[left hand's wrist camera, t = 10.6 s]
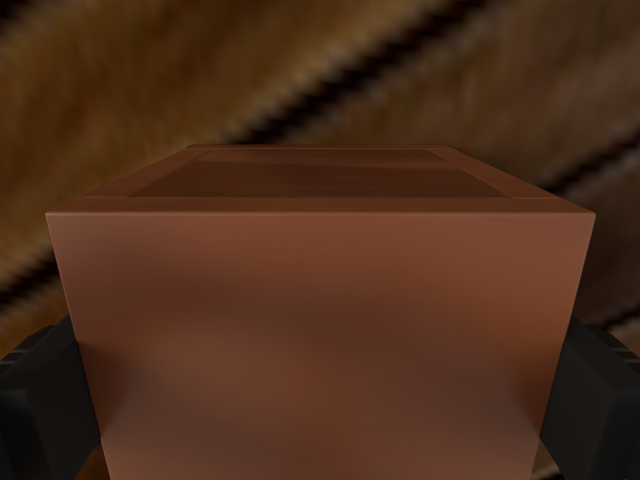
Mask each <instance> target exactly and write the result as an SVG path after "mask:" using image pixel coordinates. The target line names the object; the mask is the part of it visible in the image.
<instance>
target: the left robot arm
mask: <svg viewBox="0 0 640 480" xmlns="http://www.w3.org/2000/svg"><path fill="white" fill-rule="evenodd" d="M12 351H13V352H12V353H9V354H8V355H6V356H5V357H4V358H3V359H2V360H1V361H0V480H74V479H75V478H76V476H77V475H78V473H79V471H80V470H81V468H82V467H83V465H84V463H85V462H86V460H87V459H88V457H89V455H90V454H91V452H92V451H93V449H94V447H95V446H96V444H97V443H98V441H99V439H100V434H99V430H98V426H97V422H96V418H95V414H94V410H93V406H92V402H91V398H90V394H89V390H88V386H87V382H86V378H85V374H84V370H83V366H82V361H81V357H80V353H79V349H78V345H77V341H76V337H75V333H74V329H73V325H72V321H71V317H70V313H69V314H68V315H67V316H66V317H65V318H64V319H62V320H61V321H60V322H59V323H58V324H57V325H49V326H47V327H45V328H44V329H42V330H40V331H38V332H36V333H34V334H32V335H31V336H29V337H27V338H26V339H25V340H24V341H23V342H22V343H20V344H19V345H18V346H17V347H16V348H15V349H13V350H12ZM540 439H541V440H542V442H543V443H544V445H545V447H546V448H547V450H548V451H549V453H550V455H551V456H552V458H553V459H554V461H555V463H556V464H557V466H558V467H559V469H560V471H561V472H562V474H563V476H564V477H565V479H566V480H625V478H626V479H627V480H640V358H639V357H637V356H636V355H635V354H634V353H633V352H629V349H628V348H627V347H626V346H625V345H623V344H622V343H621V342H620V341H619V340H618V339H616V338H615V337H614V336H613V335H611V334H609V333H607V332H605V331H603V330H602V329H600V328H598V327H596V326H594V325H592V324H582V323H581V322H580V321H579V320H578V319H577V318H576V317H575V316H574V315H572V314H571V317H570V321H569V325H568V329H567V333H566V337H565V341H564V345H563V349H562V353H561V357H560V361H559V365H558V368H557V372H556V376H555V380H554V384H553V388H552V392H551V396H550V400H549V404H548V408H547V412H546V416H545V420H544V424H543V428H542V432H541V436H540Z"/></svg>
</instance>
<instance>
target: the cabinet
mask: <svg viewBox="0 0 640 480" xmlns="http://www.w3.org/2000/svg"><path fill="white" fill-rule="evenodd" d="M45 216H46V220H47V224H48V228H49V233H50V237H51V241H52V245H53V249H54V253H55V257H56V261H57V265H58V269H59V273H60V277H61V281H62V285H63V289H64V293H65V297H66V301H67V305H68V309H69V313H70V317H71V321H72V325H73V329H74V333H75V337H76V341H77V345H78V349H79V353H80V357H81V361H82V366H83V370H84V374H85V378H86V382H87V386H88V390H89V394H90V398H91V402H92V406H93V410H94V414H95V418H96V422H97V426H98V430H99V434H100V438H101V442H102V446H103V450H104V454H105V458H106V462H107V466H108V470H109V474H110V478H111V480H529V479H530V475H531V471H532V467H533V463H534V459H535V455H536V451H537V447H538V444H539V440H540V436H541V432H542V428H543V424H544V420H545V416H546V412H547V408H548V404H549V400H550V396H551V392H552V388H553V384H554V380H555V376H556V372H557V368H558V365H559V361H560V357H561V353H562V349H563V345H564V341H565V337H566V333H567V329H568V325H569V321H570V317H571V313H572V309H573V305H574V301H575V297H576V293H577V289H578V285H579V282H580V278H581V274H582V270H583V266H584V262H585V258H586V254H587V250H588V246H589V242H590V238H591V234H592V230H593V226H594V222H595V218H596V214H595V213H594V212H592V211H590V210H587V209H585V208H583V207H581V206H579V205H576V204H574V203H572V202H570V201H568V200H565V199H561V198H560V197H558V196H556V195H553V194H551V193H549V192H547V191H545V190H543V189H540V188H538V187H536V186H534V185H532V184H529V183H527V182H525V181H523V180H521V179H519V178H516V177H514V176H512V175H510V174H508V173H505V172H503V171H501V170H499V169H497V168H494V167H492V166H490V165H488V164H486V163H484V162H481V161H479V160H477V159H475V158H473V157H470V156H468V155H466V154H464V153H462V152H459V151H457V150H455V148H454V147H451V146H449V145H284V144H193V145H191V146H188V147H186V149H185V150H182V151H180V152H178V153H176V154H174V155H171V156H169V157H167V158H165V159H163V160H160V161H158V162H156V163H154V164H152V165H149V166H147V167H145V168H143V169H141V170H138V171H136V172H134V173H132V174H130V175H127V176H125V177H123V178H121V179H119V180H116V181H114V182H112V183H110V184H108V185H105V186H103V187H101V188H99V189H97V190H95V191H92V192H90V193H88V194H86V195H84V196H81V197H80V198H76V199H74V200H72V201H69V202H67V203H65V204H63V205H61V206H58V207H56V208H54V209H52V210H50V211H47V212H46V214H45Z"/></svg>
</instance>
